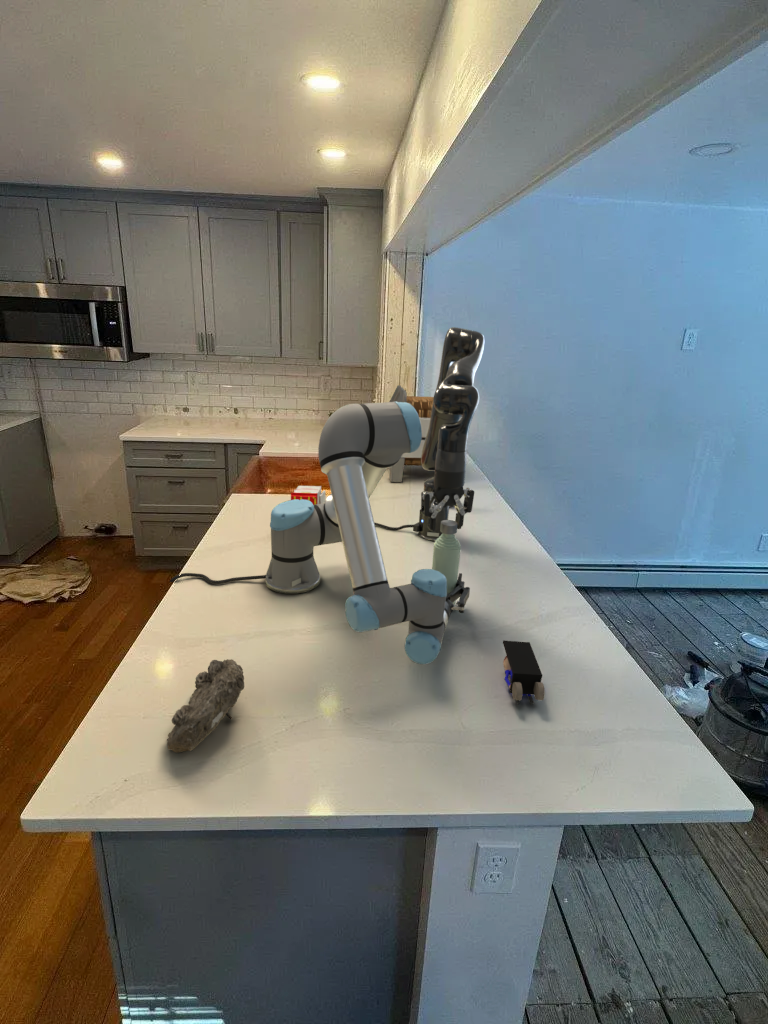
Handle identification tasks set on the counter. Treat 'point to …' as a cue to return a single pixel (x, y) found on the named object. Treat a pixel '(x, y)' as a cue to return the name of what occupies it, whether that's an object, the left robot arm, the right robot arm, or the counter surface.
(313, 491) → the toy
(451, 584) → the bottle
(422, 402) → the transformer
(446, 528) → the cap
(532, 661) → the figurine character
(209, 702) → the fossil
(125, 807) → the counter surface
